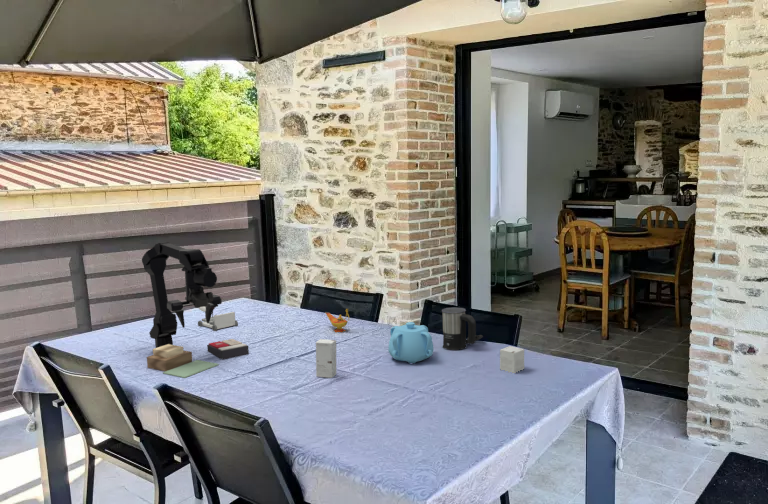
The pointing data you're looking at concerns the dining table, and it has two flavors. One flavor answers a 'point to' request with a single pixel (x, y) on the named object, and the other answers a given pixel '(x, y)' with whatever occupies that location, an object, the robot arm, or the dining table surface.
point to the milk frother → (458, 329)
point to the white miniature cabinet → (326, 358)
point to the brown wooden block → (169, 361)
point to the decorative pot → (410, 343)
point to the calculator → (228, 349)
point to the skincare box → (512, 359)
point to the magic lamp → (338, 321)
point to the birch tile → (168, 351)
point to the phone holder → (218, 320)
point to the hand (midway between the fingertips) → (195, 325)
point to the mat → (190, 368)
